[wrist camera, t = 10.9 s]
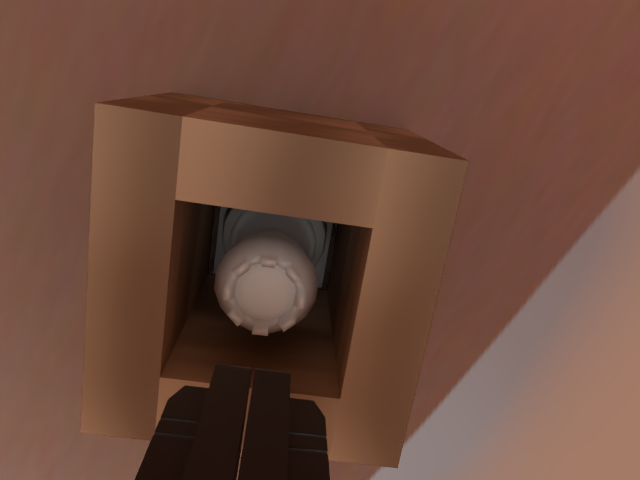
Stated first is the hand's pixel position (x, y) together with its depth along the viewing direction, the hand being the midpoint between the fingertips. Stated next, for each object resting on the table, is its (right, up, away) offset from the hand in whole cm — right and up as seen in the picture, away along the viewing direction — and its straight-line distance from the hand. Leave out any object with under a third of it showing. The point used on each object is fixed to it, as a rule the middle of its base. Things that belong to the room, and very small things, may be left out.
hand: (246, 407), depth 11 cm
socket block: (-1, +4, +14) cm, 14 cm away
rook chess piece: (-1, +4, +13) cm, 14 cm away
